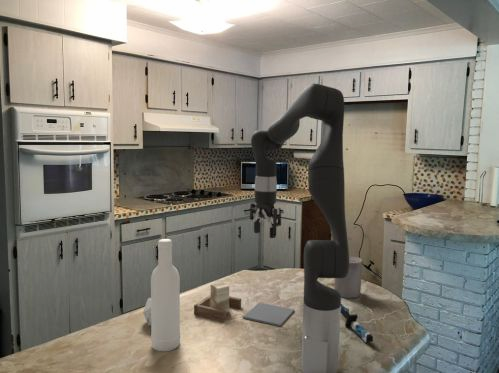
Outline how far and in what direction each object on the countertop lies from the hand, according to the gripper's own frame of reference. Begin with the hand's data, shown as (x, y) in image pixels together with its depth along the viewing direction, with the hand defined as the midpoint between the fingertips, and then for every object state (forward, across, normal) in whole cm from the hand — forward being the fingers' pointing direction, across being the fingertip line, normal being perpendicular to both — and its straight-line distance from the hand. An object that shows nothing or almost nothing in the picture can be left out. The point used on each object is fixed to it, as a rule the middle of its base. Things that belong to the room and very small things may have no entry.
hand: (264, 235), depth 145 cm
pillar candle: (+25, -12, -32) cm, 42 cm away
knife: (+24, -27, -12) cm, 38 cm away
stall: (+24, +3, +16) cm, 30 cm away
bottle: (+24, -8, +41) cm, 49 cm away
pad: (+24, -9, +5) cm, 26 cm away
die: (+25, +6, +38) cm, 45 cm away
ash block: (+24, +3, +16) cm, 30 cm away
